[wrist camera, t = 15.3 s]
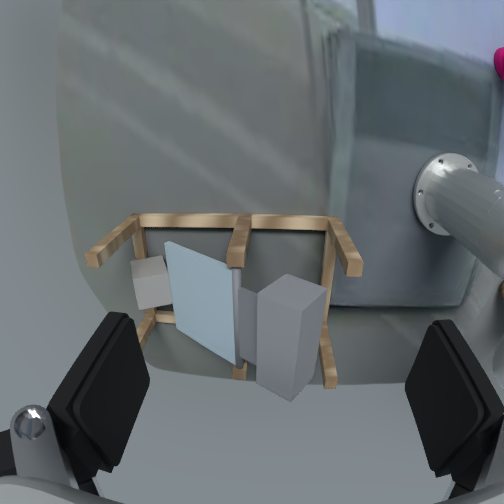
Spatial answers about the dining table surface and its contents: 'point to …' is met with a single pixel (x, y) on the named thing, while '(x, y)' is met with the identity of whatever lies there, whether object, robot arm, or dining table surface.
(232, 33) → the dining table surface
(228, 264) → the frame
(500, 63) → the pepper mill
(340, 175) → the dining table surface
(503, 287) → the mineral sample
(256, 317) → the trapdoor
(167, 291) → the light grey block
